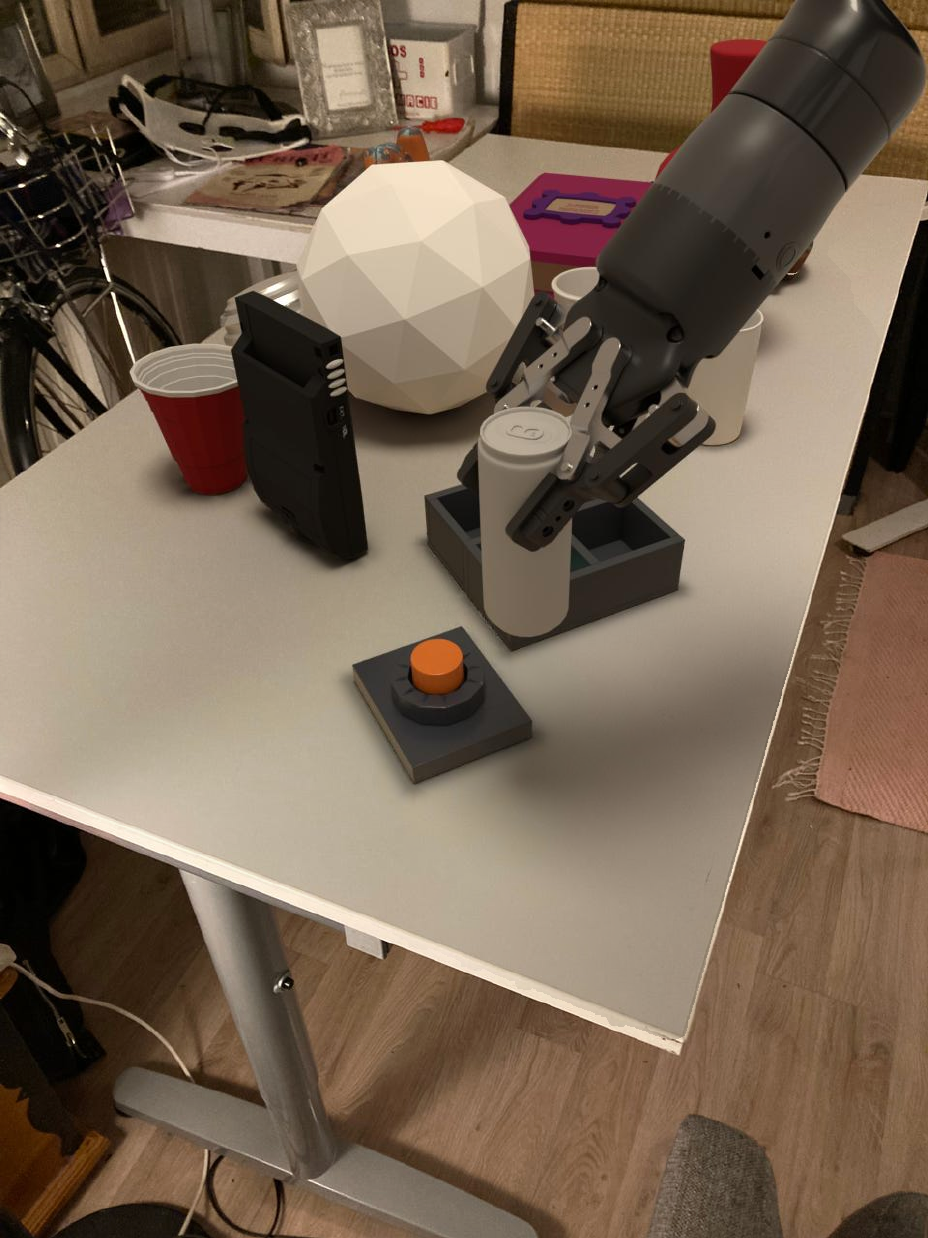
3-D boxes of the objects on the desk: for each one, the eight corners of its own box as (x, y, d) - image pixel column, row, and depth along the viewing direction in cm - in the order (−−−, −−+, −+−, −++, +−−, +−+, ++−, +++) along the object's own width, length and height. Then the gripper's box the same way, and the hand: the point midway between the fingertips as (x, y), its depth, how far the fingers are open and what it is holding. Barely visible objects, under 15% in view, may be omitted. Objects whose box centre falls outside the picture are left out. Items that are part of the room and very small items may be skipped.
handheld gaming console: (374, 552, 84) (348, 334, 71) (332, 575, 82) (297, 354, 69) (295, 495, 91) (258, 287, 78) (254, 515, 89) (209, 304, 76)
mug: (757, 437, 96) (779, 321, 88) (699, 454, 94) (717, 337, 86) (698, 393, 103) (713, 282, 95) (643, 407, 101) (654, 295, 93)
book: (462, 297, 123) (460, 236, 118) (533, 220, 142) (534, 165, 137) (624, 319, 117) (629, 256, 112) (676, 236, 136) (682, 179, 131)
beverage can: (550, 651, 53) (554, 464, 45) (470, 628, 55) (460, 444, 47) (580, 598, 56) (589, 414, 48) (503, 578, 58) (500, 397, 50)
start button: (472, 685, 67) (471, 663, 66) (425, 702, 66) (423, 681, 65) (450, 653, 70) (448, 632, 69) (404, 669, 69) (402, 648, 67)
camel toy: (408, 223, 143) (398, 93, 132) (491, 234, 139) (489, 100, 127) (324, 290, 126) (305, 147, 115) (416, 304, 122) (406, 157, 110)
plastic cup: (298, 465, 95) (279, 351, 87) (221, 522, 88) (193, 404, 80) (216, 437, 99) (190, 325, 91) (137, 489, 93) (102, 373, 85)
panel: (532, 736, 68) (532, 702, 65) (414, 784, 65) (410, 749, 63) (462, 642, 75) (461, 607, 73) (354, 680, 72) (349, 646, 70)
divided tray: (678, 589, 79) (685, 539, 76) (511, 651, 74) (511, 600, 71) (579, 495, 90) (582, 447, 86) (427, 544, 85) (423, 495, 81)
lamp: (533, 427, 87) (440, 142, 77) (232, 491, 104) (121, 263, 93) (594, 343, 105) (526, 102, 94) (329, 409, 121) (245, 209, 111)
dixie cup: (573, 395, 103) (577, 305, 97) (535, 363, 109) (537, 276, 102) (640, 377, 106) (648, 287, 99) (599, 347, 112) (605, 260, 105)
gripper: (590, 141, 48) (386, 420, 52) (784, 234, 38) (514, 567, 42) (669, 228, 53) (477, 476, 57) (857, 330, 43) (610, 619, 48)
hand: (494, 513), depth 50 cm, fingers closed on beverage can, 5 cm apart
